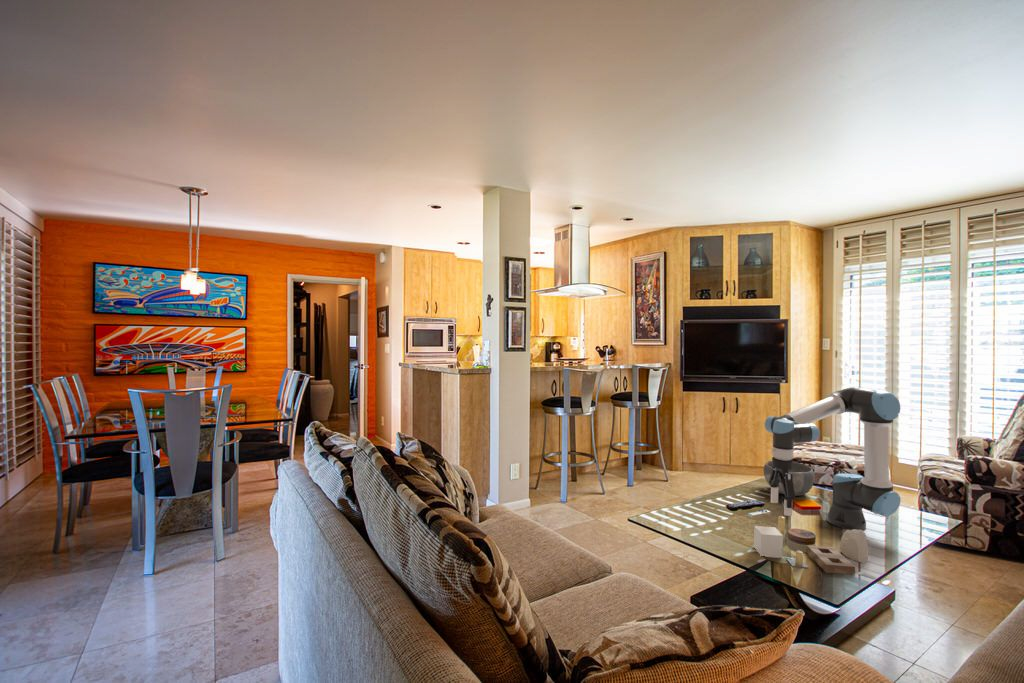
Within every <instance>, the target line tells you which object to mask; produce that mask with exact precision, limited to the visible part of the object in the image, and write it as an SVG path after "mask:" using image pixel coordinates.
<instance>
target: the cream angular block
mask: <svg viewBox="0 0 1024 683" xmlns="http://www.w3.org/2000/svg"><path fill="white" fill-rule="evenodd" d="M786 562H788V563H789V565H791V567H792V568H801V569H809V566H808V565H807V564H806V563H805V562H804V552H803V551H801V550H795V558H793V559H792V558H791V559H790V558H786Z"/></svg>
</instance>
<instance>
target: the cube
mask: <svg viewBox="0 0 1024 683" xmlns="http://www.w3.org/2000/svg"><path fill="white" fill-rule="evenodd" d="M753 529H754V530H753V549H754V548H755V549H756V550H755V549H754V550H755V551H756V553H757V552H758V553H759V554H760V555H759V554H758V553H757V554H758V555H759V557H761V556H765V557H764V558H776V559H782V558H783V548H784V547H783V535H782V534H781V533H780V532H779V531H778V528H776V527H773V526H762V525H761V526H760V525H754V528H753Z"/></svg>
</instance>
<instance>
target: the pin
mask: <svg viewBox="0 0 1024 683" xmlns="http://www.w3.org/2000/svg"><path fill="white" fill-rule="evenodd" d="M777 520H778V521H777V530H778V531H779V532H780V533H781V534H782V535H783V547H782V548H784V547H785V539H786V538H785V537H786V536H785V534H786V516H785V515H784V516H783V515H778V519H777Z"/></svg>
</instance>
